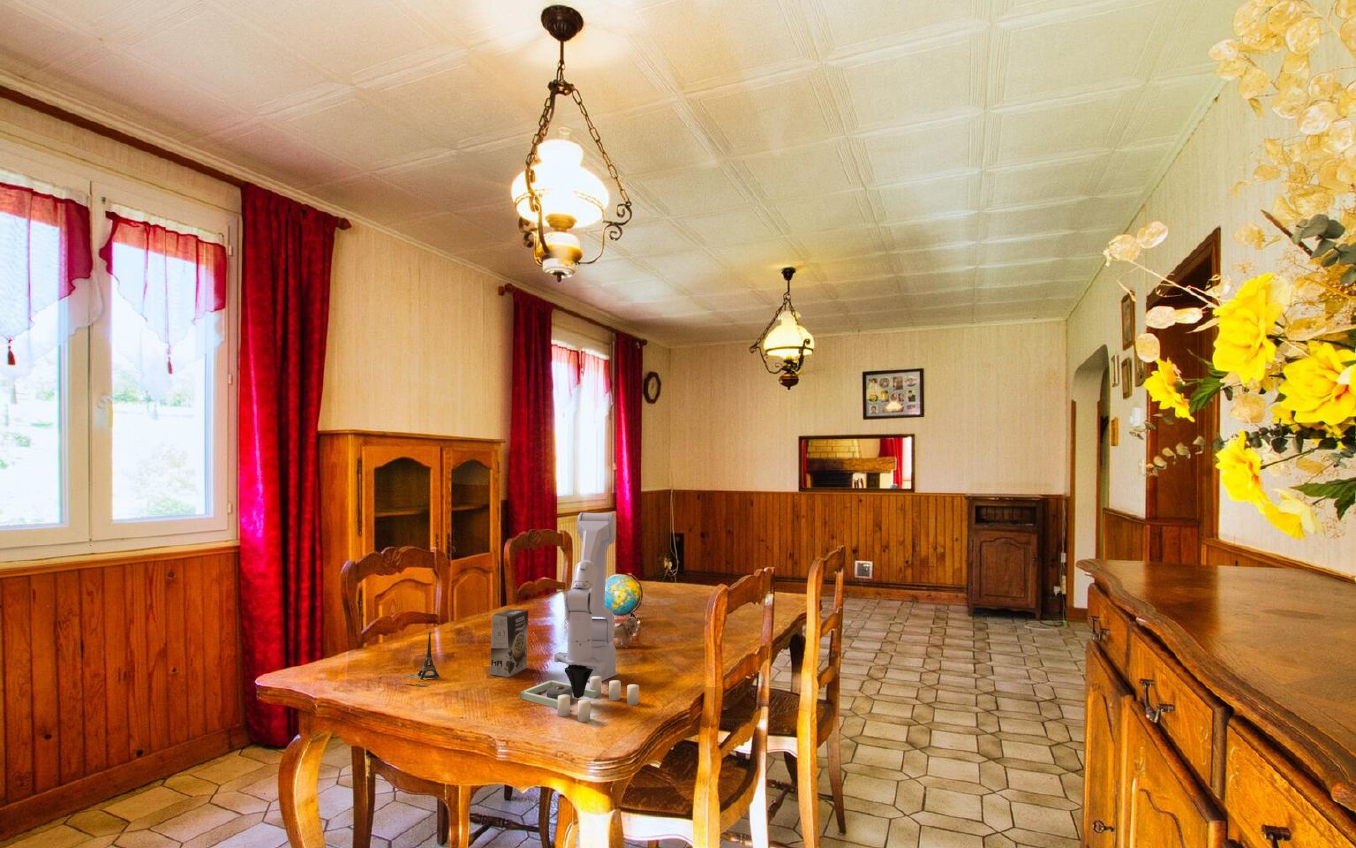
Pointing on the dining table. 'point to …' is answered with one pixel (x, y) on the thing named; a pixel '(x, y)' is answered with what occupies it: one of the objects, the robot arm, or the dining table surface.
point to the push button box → (559, 691)
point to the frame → (532, 696)
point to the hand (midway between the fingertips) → (578, 697)
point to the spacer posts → (596, 685)
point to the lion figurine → (626, 630)
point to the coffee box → (509, 642)
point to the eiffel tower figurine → (426, 666)
